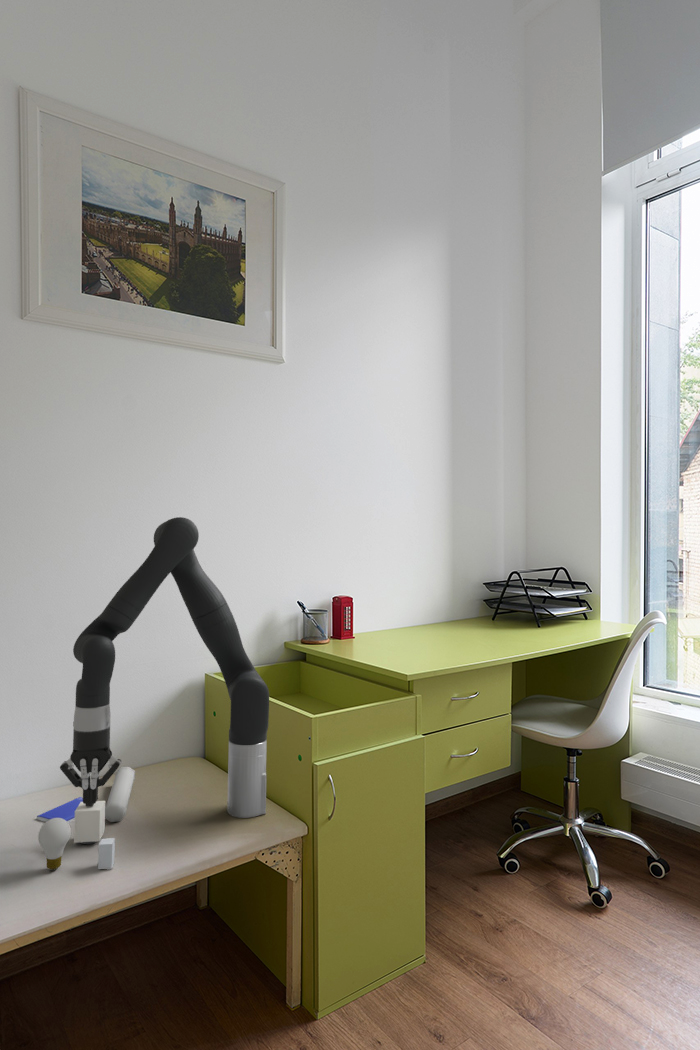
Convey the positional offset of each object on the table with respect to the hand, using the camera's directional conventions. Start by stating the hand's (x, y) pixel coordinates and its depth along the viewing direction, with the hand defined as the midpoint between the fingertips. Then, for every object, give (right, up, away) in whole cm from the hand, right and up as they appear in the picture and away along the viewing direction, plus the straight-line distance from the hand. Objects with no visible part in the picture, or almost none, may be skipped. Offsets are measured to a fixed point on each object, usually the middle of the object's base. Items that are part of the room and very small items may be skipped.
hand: (90, 804), depth 142 cm
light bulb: (-2, -8, -13) cm, 15 cm away
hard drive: (-10, -9, +14) cm, 20 cm away
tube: (-1, -9, +21) cm, 22 cm away
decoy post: (+8, -8, -11) cm, 16 cm away
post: (0, -8, 0) cm, 8 cm away
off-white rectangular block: (0, -7, 0) cm, 7 cm away
